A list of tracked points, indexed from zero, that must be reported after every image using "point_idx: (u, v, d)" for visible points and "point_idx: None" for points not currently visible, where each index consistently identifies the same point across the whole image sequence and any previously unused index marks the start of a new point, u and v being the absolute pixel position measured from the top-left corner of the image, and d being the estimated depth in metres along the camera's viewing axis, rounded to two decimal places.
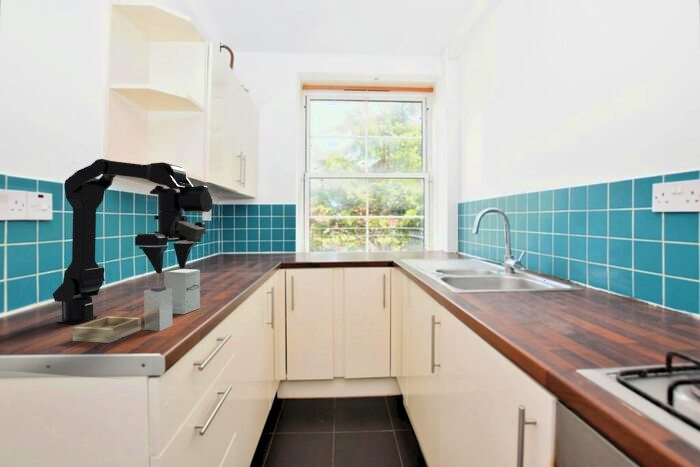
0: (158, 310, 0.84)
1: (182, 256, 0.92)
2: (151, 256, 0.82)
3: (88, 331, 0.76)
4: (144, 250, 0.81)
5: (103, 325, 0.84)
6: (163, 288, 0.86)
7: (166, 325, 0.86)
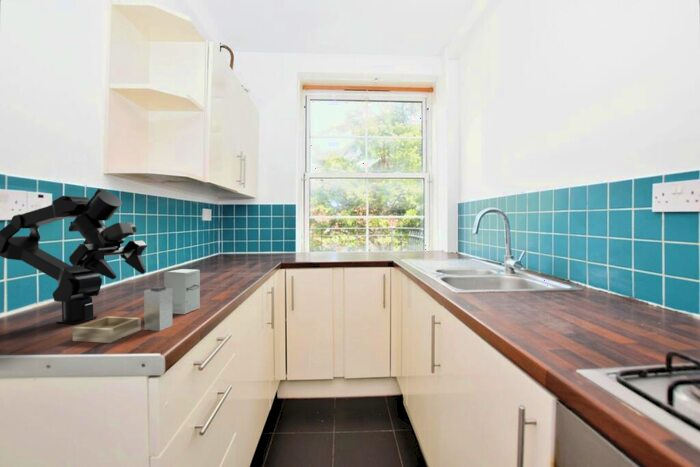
0: (158, 310, 0.84)
1: (136, 263, 0.93)
2: (97, 268, 0.83)
3: (88, 331, 0.76)
4: (87, 267, 0.82)
5: (103, 325, 0.84)
6: (163, 288, 0.86)
7: (166, 325, 0.86)
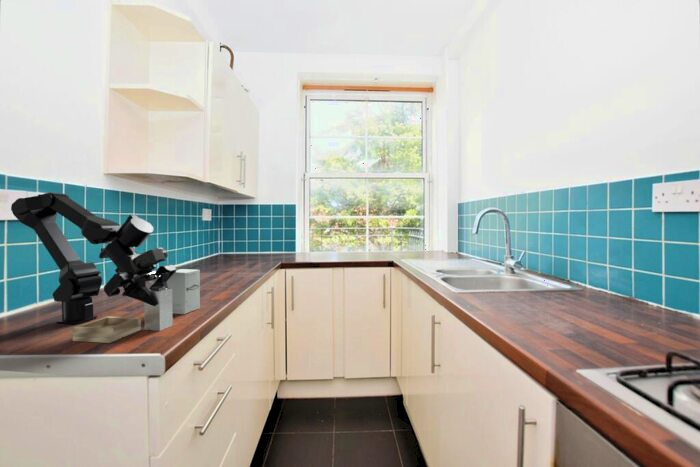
0: (158, 310, 0.84)
1: None
2: (138, 295, 0.83)
3: (88, 331, 0.76)
4: (129, 295, 0.83)
5: (103, 325, 0.84)
6: (163, 288, 0.86)
7: (166, 325, 0.86)
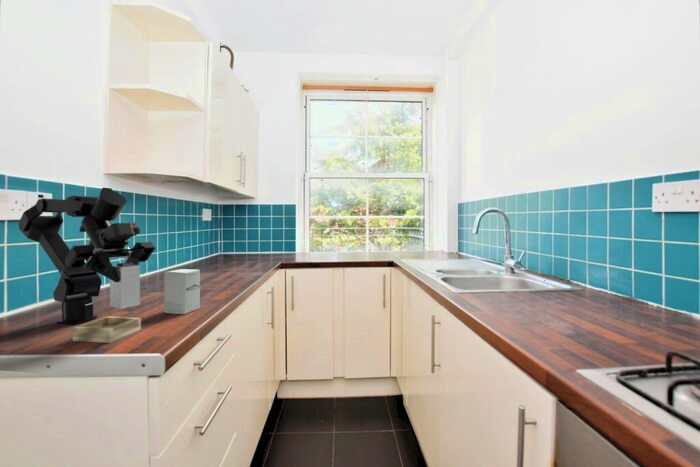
0: (120, 287, 0.79)
1: None
2: (102, 270, 0.80)
3: (88, 331, 0.76)
4: (94, 269, 0.80)
5: (103, 325, 0.84)
6: (129, 264, 0.82)
7: (131, 303, 0.82)
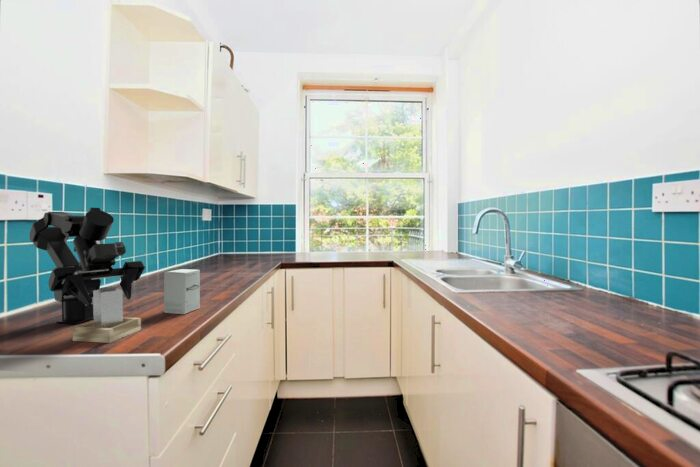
0: (100, 312, 0.78)
1: (125, 287, 0.84)
2: (76, 293, 0.77)
3: (88, 331, 0.76)
4: (69, 292, 0.78)
5: None
6: (111, 289, 0.80)
7: None
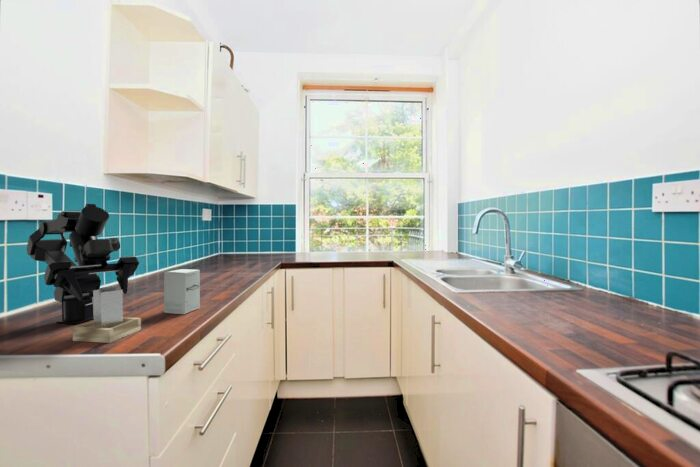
0: (100, 312, 0.78)
1: (121, 282, 0.87)
2: (68, 288, 0.79)
3: (88, 331, 0.76)
4: (62, 286, 0.79)
5: None
6: (111, 289, 0.80)
7: None
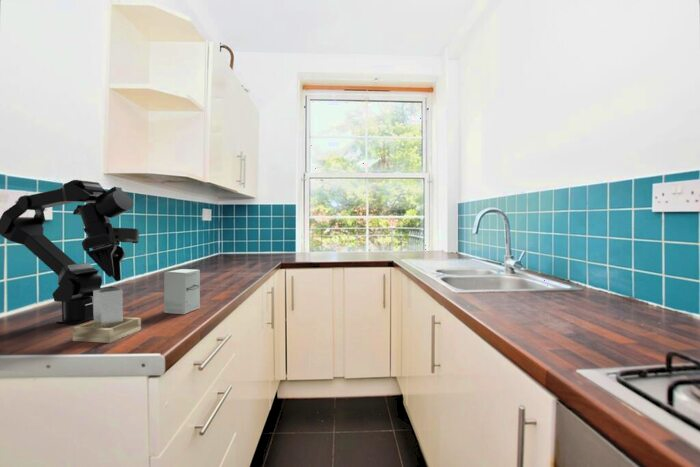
0: (100, 312, 0.78)
1: (115, 268, 0.93)
2: (100, 260, 0.83)
3: (88, 331, 0.76)
4: (91, 256, 0.82)
5: None
6: (111, 289, 0.80)
7: None
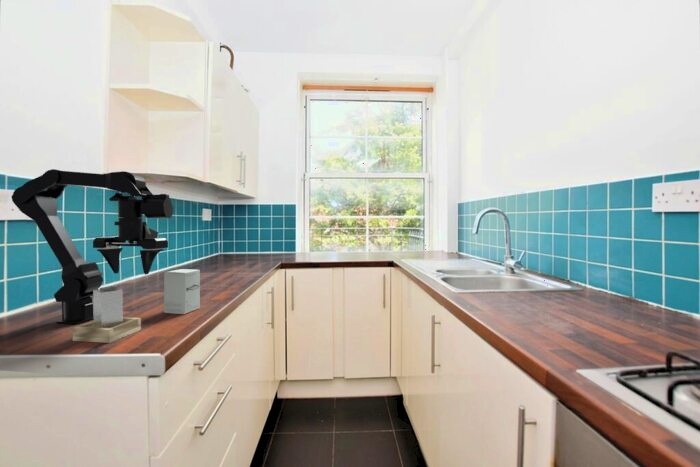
0: (100, 312, 0.78)
1: (116, 261, 0.93)
2: (148, 259, 0.91)
3: (88, 331, 0.76)
4: (146, 253, 0.89)
5: None
6: (111, 289, 0.80)
7: None
